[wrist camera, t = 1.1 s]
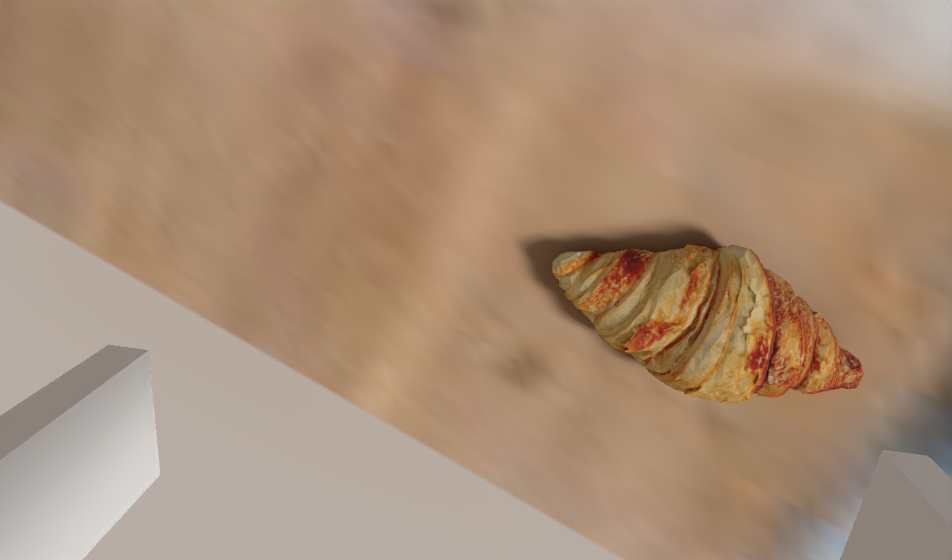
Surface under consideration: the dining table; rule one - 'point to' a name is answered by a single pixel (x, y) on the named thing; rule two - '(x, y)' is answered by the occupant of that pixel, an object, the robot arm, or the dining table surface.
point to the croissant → (707, 321)
